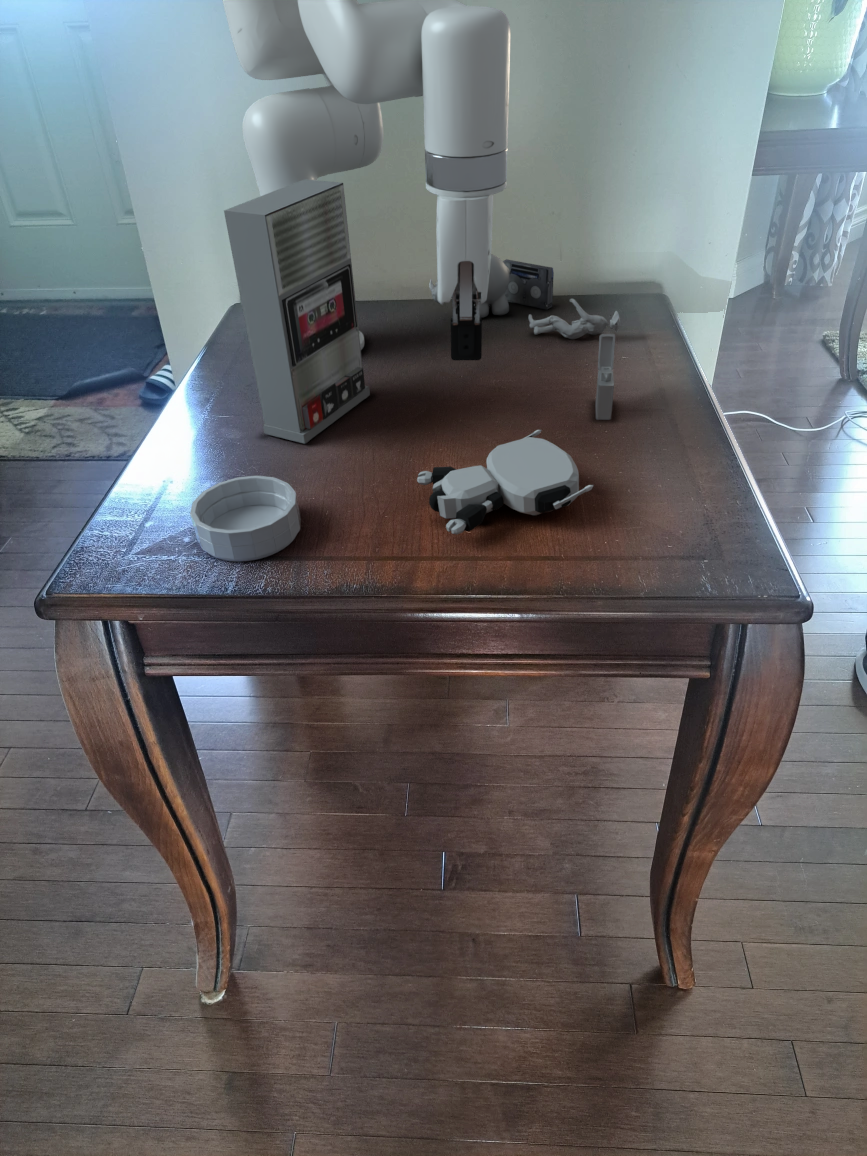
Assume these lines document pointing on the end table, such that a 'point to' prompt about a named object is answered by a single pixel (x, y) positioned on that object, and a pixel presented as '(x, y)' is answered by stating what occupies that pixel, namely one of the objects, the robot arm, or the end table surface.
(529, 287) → the mini dv tape
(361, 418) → the end table surface
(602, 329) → the soldier figure
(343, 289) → the cassette tape recorder
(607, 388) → the lighter
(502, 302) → the chubby cartoon animal
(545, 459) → the robot toy
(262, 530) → the grey shallow bowl
